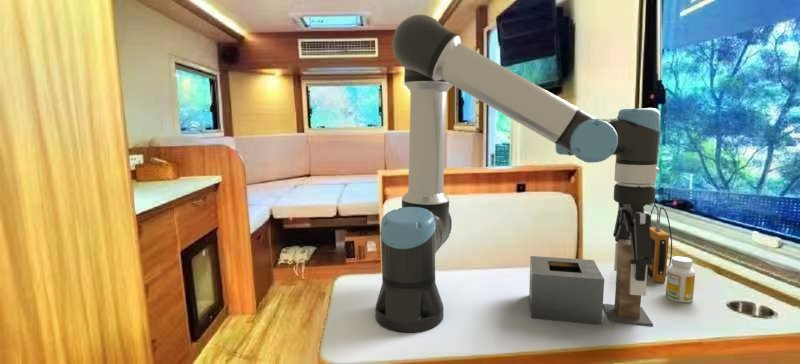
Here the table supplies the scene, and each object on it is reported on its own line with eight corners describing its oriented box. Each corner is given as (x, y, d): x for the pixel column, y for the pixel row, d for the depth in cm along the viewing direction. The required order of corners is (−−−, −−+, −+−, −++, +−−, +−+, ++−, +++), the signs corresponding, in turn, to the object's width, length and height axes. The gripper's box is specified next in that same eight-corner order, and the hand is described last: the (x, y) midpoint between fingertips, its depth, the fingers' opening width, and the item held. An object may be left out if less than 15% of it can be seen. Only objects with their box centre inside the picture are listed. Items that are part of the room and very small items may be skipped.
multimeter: (704, 291, 101) (712, 211, 98) (659, 288, 103) (665, 210, 100) (677, 269, 115) (683, 199, 112) (638, 268, 117) (642, 199, 114)
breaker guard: (531, 317, 89) (532, 273, 87) (529, 295, 100) (530, 255, 99) (601, 325, 85) (604, 279, 84) (591, 300, 97) (593, 260, 95)
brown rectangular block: (618, 316, 88) (623, 244, 85) (614, 308, 92) (618, 239, 89) (639, 318, 87) (644, 245, 84) (634, 310, 90) (639, 240, 88)
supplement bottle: (690, 295, 98) (693, 256, 97) (695, 304, 93) (698, 264, 92) (663, 292, 100) (666, 254, 99) (667, 301, 96) (670, 261, 94)
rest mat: (610, 321, 86) (610, 319, 86) (602, 305, 94) (602, 303, 94) (652, 326, 84) (653, 324, 84) (641, 308, 92) (641, 307, 92)
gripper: (678, 194, 72) (668, 309, 75) (638, 176, 96) (632, 263, 99) (630, 193, 74) (623, 304, 77) (602, 175, 98) (598, 261, 101)
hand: (628, 281), depth 88 cm, fingers open, 13 cm apart
